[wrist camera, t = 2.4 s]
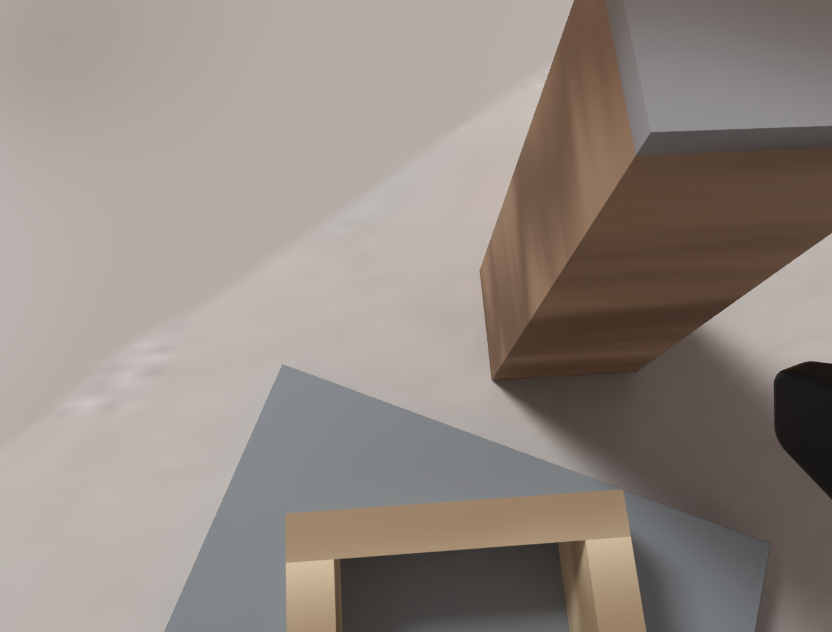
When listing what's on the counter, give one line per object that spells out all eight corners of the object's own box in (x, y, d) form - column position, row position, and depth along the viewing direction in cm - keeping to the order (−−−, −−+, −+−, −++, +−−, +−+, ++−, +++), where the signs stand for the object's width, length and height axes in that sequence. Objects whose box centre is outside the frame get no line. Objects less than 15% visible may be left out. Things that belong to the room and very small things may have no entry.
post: (636, 371, 24) (990, 120, 10) (492, 380, 23) (651, 132, 10) (617, 263, 25) (907, -92, 11) (479, 270, 25) (605, -88, 11)
